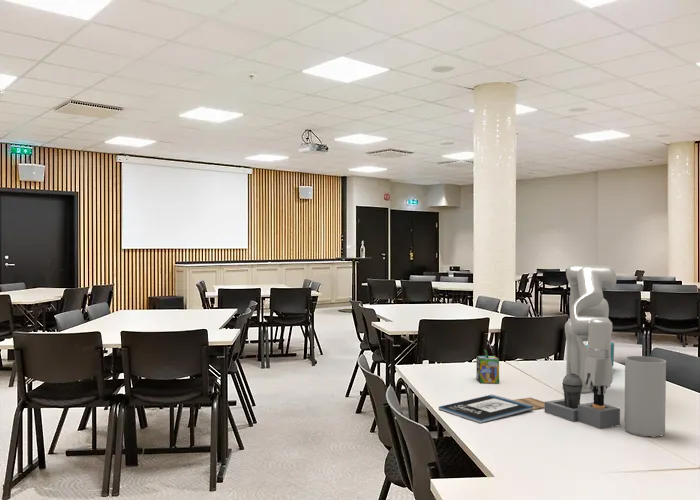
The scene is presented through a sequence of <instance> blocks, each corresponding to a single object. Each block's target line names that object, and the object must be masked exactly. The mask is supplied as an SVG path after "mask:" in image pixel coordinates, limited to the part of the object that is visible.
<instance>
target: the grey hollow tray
mask: <svg viewBox="0 0 700 500" xmlns="http://www.w3.org/2000/svg"><path fill="white" fill-rule="evenodd" d="M544 402H545V408H544V413H546V414H547V415H551V416H555V417H557V418H560V419H564V420H566V421H569V422H572V423H575V422H578V423H580V424H584V425H588V426H591V427H593V428H597V429H599V430H601V429H606V428H607V429H608V428H612V426H613V427H618V426H617V425H619V426H621V408H620V407H616V406H613V405H609V404H605V403H604V405H605V408H603V409H597V408H594V407H593V403H594V401H593V402H588V403H580V404H579V405H578V408H576V409H572V408H569V407H565V400H564V398H561V399H555V400H549V401H544Z"/></svg>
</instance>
